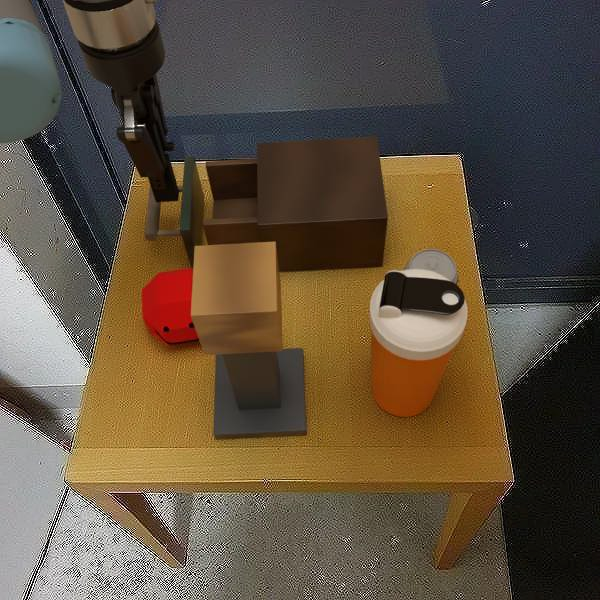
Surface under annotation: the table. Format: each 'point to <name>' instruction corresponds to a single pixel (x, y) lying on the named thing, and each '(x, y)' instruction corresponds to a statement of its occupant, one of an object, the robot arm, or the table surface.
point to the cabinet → (322, 203)
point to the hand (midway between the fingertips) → (167, 196)
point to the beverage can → (434, 263)
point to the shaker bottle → (413, 337)
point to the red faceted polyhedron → (170, 307)
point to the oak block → (237, 298)
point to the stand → (260, 395)
